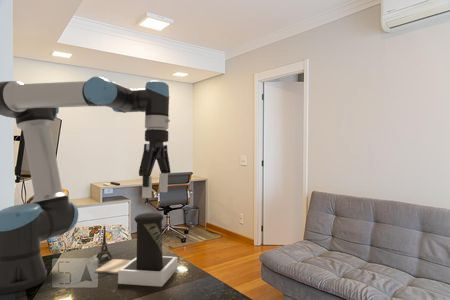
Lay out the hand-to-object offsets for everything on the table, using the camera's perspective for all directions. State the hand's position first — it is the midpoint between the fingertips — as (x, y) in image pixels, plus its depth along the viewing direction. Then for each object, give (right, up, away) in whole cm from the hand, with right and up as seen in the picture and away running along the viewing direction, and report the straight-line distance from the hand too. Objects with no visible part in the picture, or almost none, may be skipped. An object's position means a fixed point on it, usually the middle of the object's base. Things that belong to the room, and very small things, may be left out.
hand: (155, 194), depth 96 cm
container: (-2, -26, -1) cm, 26 cm away
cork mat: (-15, -26, +7) cm, 31 cm away
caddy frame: (-2, -26, -1) cm, 26 cm away
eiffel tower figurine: (-24, -27, +17) cm, 40 cm away
